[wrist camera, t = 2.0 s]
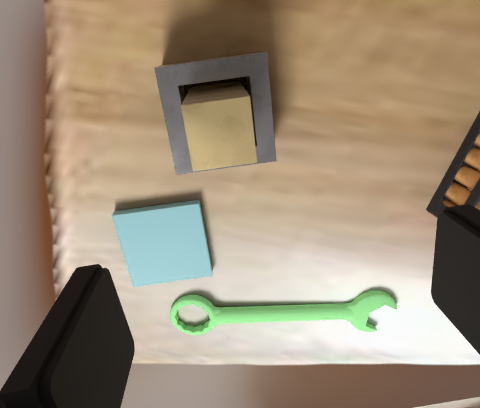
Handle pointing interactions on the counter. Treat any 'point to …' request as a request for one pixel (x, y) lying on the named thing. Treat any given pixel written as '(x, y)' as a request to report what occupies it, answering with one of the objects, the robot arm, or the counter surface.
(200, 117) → the brass peg
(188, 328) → the wrench
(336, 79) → the counter surface
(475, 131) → the ammunition clip
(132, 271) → the teal board
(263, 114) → the socket block
